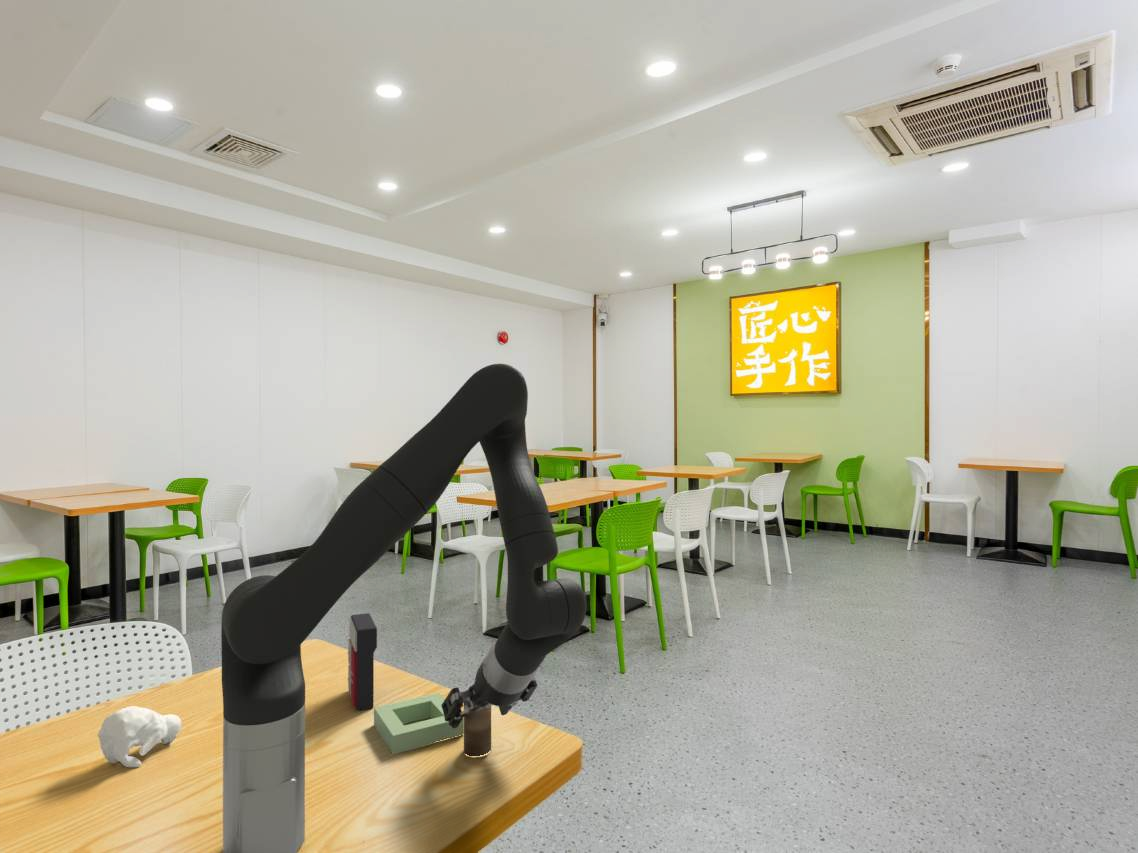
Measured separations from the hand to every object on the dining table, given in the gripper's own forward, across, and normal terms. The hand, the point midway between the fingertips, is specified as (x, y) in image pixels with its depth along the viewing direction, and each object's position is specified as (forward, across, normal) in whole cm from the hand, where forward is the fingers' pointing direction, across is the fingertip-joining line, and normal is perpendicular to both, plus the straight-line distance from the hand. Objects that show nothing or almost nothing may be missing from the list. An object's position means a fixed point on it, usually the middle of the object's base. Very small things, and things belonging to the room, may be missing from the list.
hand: (477, 715), depth 102 cm
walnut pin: (+4, 0, +4) cm, 6 cm away
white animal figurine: (+23, +46, -15) cm, 54 cm away
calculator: (+25, +12, -17) cm, 33 cm away
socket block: (+12, +6, -4) cm, 14 cm away
